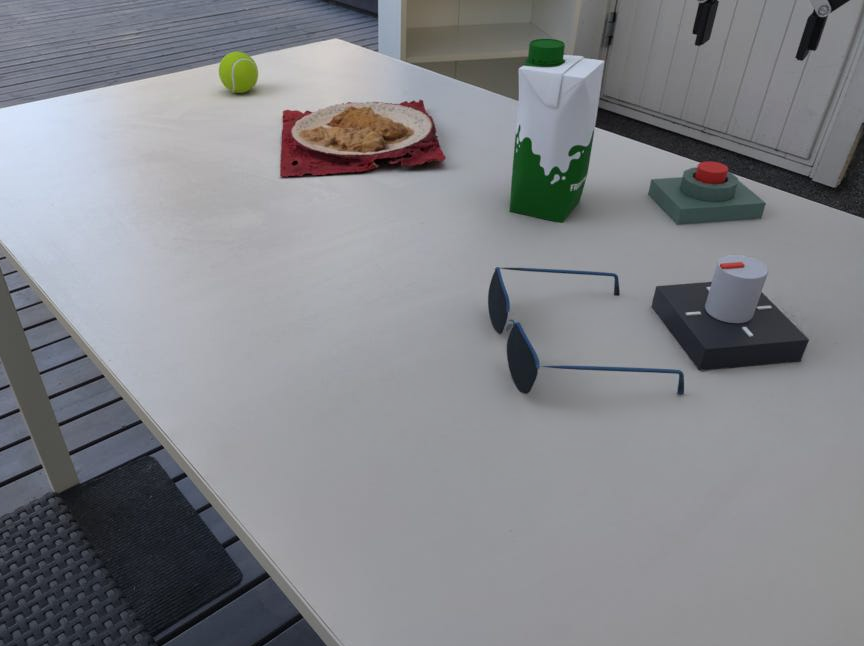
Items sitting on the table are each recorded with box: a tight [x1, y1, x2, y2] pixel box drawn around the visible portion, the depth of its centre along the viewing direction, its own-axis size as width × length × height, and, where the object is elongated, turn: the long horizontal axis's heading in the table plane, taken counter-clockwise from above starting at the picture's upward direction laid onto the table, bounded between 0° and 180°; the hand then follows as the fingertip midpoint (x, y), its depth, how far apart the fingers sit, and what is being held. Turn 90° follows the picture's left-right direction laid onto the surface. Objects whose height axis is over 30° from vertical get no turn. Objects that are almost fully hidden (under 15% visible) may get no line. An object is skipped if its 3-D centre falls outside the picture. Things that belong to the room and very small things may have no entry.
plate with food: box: [279, 98, 447, 178], centre depth 115 cm, size 24×26×4 cm
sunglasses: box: [487, 266, 685, 395], centre depth 71 cm, size 17×15×5 cm
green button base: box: [647, 166, 767, 226], centre depth 95 cm, size 11×9×4 cm
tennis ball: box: [218, 51, 259, 94], centre depth 134 cm, size 7×7×7 cm
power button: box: [695, 161, 729, 184], centre depth 93 cm, size 4×4×2 cm
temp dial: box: [705, 254, 769, 323], centre depth 70 cm, size 4×4×5 cm
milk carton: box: [509, 38, 606, 224], centre depth 91 cm, size 9×9×20 cm
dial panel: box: [650, 281, 810, 371], centre depth 73 cm, size 10×11×3 cm
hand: (750, 49), depth 75 cm, fingers open, 9 cm apart
